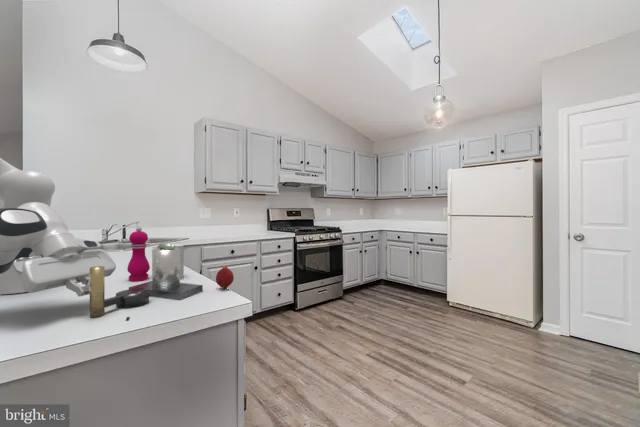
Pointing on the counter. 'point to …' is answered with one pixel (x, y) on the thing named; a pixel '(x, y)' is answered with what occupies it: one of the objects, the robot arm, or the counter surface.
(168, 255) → the instrument stand
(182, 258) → the small box
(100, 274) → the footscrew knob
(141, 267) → the pepper mill
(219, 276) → the onion
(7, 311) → the counter surface
